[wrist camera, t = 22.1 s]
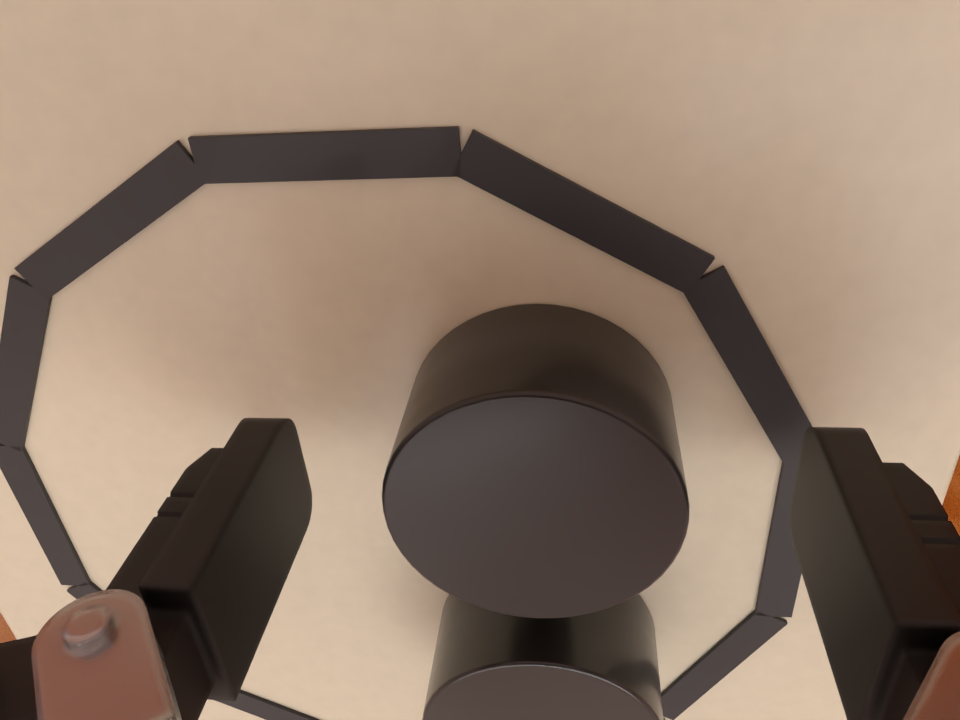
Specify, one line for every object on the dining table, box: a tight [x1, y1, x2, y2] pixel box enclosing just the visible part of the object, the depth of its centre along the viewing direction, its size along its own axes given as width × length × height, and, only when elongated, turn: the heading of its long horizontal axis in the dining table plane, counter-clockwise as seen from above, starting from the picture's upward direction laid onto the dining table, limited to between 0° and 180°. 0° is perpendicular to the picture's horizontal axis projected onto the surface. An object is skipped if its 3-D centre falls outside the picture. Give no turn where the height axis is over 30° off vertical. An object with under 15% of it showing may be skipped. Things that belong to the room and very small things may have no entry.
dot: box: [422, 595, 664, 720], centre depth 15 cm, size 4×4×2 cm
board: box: [0, 0, 960, 720], centre depth 16 cm, size 20×20×1 cm
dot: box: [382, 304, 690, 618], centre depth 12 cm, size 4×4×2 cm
